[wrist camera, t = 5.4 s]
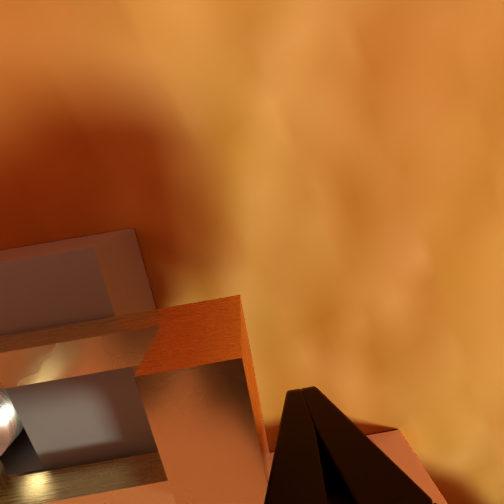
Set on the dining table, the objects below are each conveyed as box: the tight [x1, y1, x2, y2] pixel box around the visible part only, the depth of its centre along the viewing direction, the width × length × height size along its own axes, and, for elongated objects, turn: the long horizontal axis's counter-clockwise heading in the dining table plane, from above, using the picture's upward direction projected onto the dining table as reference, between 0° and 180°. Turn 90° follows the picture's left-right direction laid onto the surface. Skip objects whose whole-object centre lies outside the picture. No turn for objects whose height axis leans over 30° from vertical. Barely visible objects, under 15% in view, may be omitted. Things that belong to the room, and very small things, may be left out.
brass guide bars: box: [0, 295, 271, 504], centre depth 7 cm, size 14×6×3 cm, turn 99°
